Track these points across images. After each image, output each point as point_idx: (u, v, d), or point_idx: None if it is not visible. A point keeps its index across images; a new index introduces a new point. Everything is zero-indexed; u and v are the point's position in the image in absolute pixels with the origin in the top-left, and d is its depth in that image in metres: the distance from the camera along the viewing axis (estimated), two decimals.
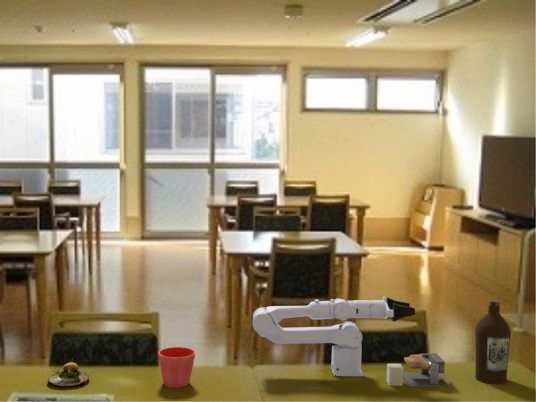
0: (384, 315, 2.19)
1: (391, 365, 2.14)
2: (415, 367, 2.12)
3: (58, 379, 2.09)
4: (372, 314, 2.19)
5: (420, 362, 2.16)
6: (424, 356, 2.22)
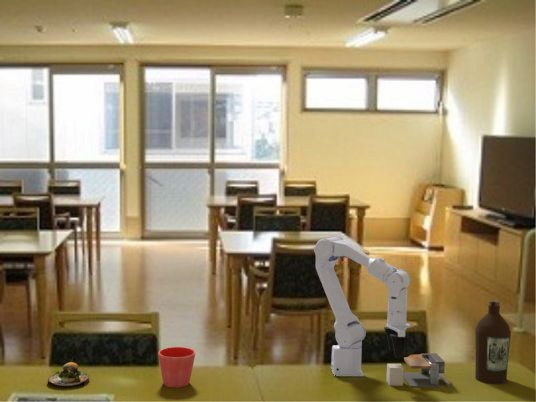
0: (393, 326, 2.10)
1: (391, 365, 2.14)
2: (415, 367, 2.12)
3: (58, 379, 2.09)
4: (395, 314, 2.10)
5: (420, 362, 2.16)
6: (424, 356, 2.22)
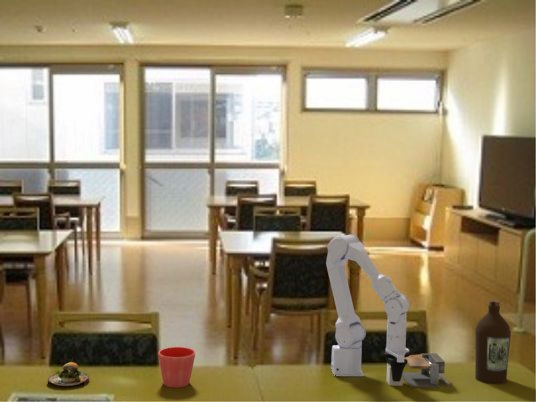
0: (392, 351, 2.11)
1: None
2: (415, 367, 2.12)
3: (58, 379, 2.09)
4: (394, 339, 2.10)
5: (420, 362, 2.16)
6: (424, 356, 2.22)
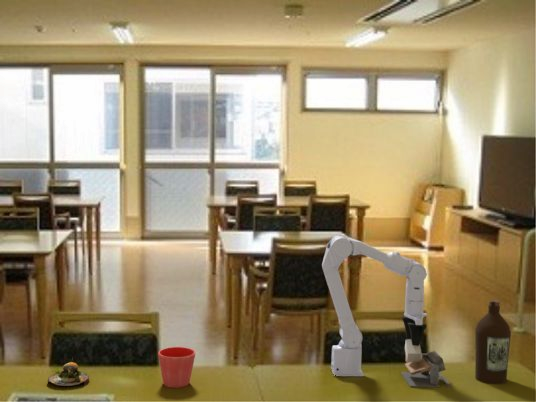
0: (411, 315, 2.19)
1: None
2: (416, 372, 2.12)
3: (58, 379, 2.09)
4: (412, 303, 2.19)
5: (420, 365, 2.16)
6: (424, 356, 2.22)
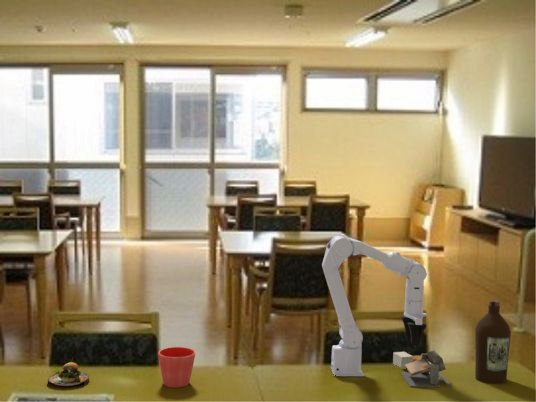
0: (410, 315, 2.20)
1: (404, 361, 2.28)
2: (416, 373, 2.12)
3: (58, 379, 2.09)
4: (412, 303, 2.19)
5: (420, 365, 2.16)
6: (424, 356, 2.22)
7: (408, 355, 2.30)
